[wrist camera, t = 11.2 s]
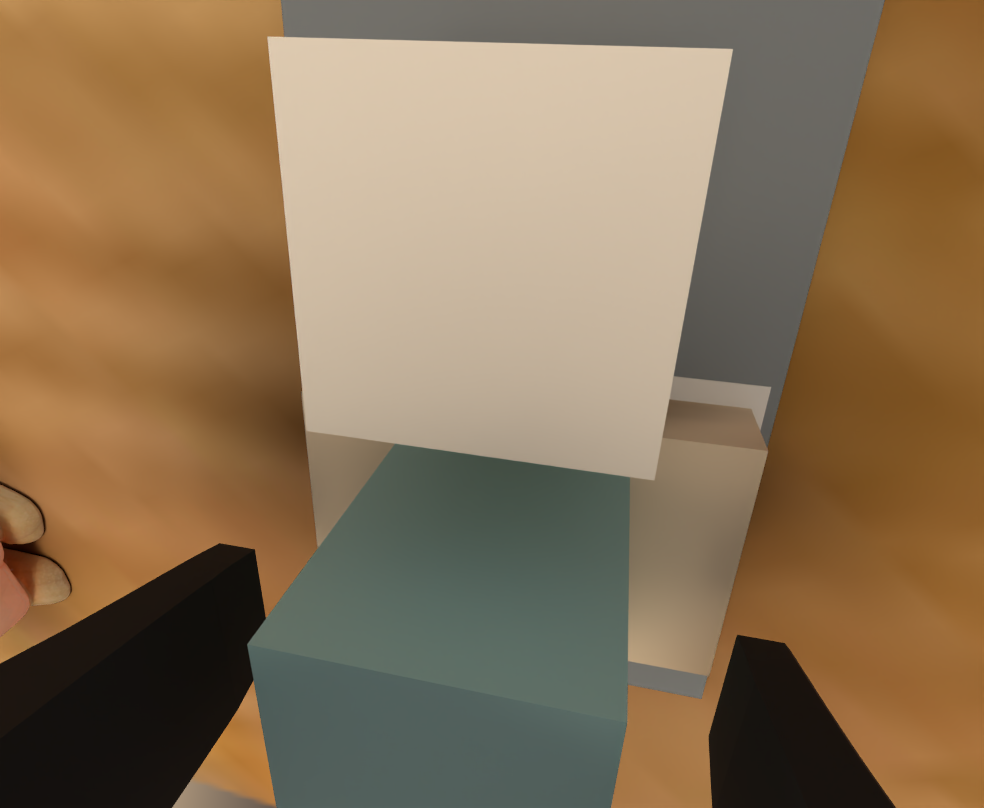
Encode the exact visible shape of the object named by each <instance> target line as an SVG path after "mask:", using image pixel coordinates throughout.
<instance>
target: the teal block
mask: <svg viewBox="0 0 984 808" xmlns="http://www.w3.org/2000/svg"><path fill="white" fill-rule="evenodd" d="M629 524H630V477H626V476H619V475H612V474H605V473H598V472H591V471H584V470H577V469H570V468H563V467H556V466H549V465H542V464H535V463H528V462H521V461H514V460H507V459H500V458H493V457H486V456H479V455H472V454H465V453H458V452H451V451H444V450H437V449H430V448H423V447H416V446H409V445H402V444H394V446H393V447H392V448H391V450H390V451H389V452H388V454H387V455H386V457H385V458H384V459H383V461H382V462H381V463H380V465H379V466H378V467H377V469H376V470H375V471H374V473H373V474H372V476H371V477H370V478H369V480H368V481H367V482H366V484H365V485H364V486H363V488H362V489H361V490H360V492H359V493H358V495H357V496H356V497H355V499H354V500H353V501H352V503H351V504H350V505H349V507H348V508H347V509H346V511H345V512H344V514H343V515H342V516H341V518H340V519H339V520H338V522H337V523H336V524H335V526H334V527H333V529H332V530H331V531H330V533H329V534H328V535H327V537H326V538H325V539H324V541H323V542H322V543H321V545H320V546H319V548H318V549H317V550H316V552H315V553H314V554H313V556H312V557H311V558H310V560H309V561H308V562H307V564H306V565H305V567H304V568H303V569H302V571H301V572H300V573H299V575H298V576H297V577H296V579H295V580H294V581H293V583H292V584H291V586H290V587H289V588H288V590H287V591H286V592H285V594H284V595H283V596H282V598H281V599H280V601H279V602H278V603H277V605H276V606H275V607H274V609H273V610H272V611H271V613H270V614H269V615H268V617H267V618H266V620H265V621H264V622H263V624H262V625H261V626H260V628H259V629H258V630H257V632H256V633H255V634H254V636H253V637H252V639H251V640H250V641H249V643H248V644H247V646H248V652H249V657H250V663H251V668H252V674H253V679H254V685H255V690H256V696H257V701H258V707H259V713H260V718H261V724H262V729H263V735H264V740H265V746H266V751H267V757H268V762H269V768H270V773H271V779H272V785H273V790H274V796H275V801H276V807H277V808H611V804H612V799H613V794H614V788H615V783H616V778H617V773H618V768H619V762H620V757H621V752H622V747H623V742H624V737H625V731H626V726H627V695H628V610H629Z"/></svg>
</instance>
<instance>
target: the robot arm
mask: <svg viewBox="0 0 984 808" xmlns="http://www.w3.org/2000/svg"><path fill="white" fill-rule="evenodd" d="M265 620H266V617H265V611H264V604H263V598H262V592H261V586H260V579H259V573H258V567H257V561H256V554H255V549H249V548H243V547H238V546H232V545H226V544H221V543H219V544H217V545H215V546H214V547H212V548H210V549H208V550H206V551H204V552H202V553H200V554H198V555H196V556H194V557H193V558H191V559H189V560H187V561H185V562H184V563H182V564H180V565H178V566H177V567H175V568H173V569H171V570H169V571H168V572H166V573H164V574H162V575H161V576H159V577H157V578H155V579H154V580H152V581H150V582H148V583H147V584H145V585H143V586H141V587H140V588H138V589H136V590H135V591H133V592H131V593H129V594H127V595H126V596H124V597H122V598H120V599H119V600H117V601H115V602H113V603H112V604H110V605H108V606H106V607H104V608H103V609H101V610H99V611H97V612H96V613H94V614H92V615H90V616H88V617H87V618H85V619H83V620H81V621H80V622H78V623H76V624H74V625H72V626H71V627H69V628H67V629H65V630H63V631H61V632H60V633H58V634H56V635H54V636H52V637H50V638H48V639H46V640H44V641H42V642H41V643H39V644H37V645H35V646H33V647H31V648H29V649H27V650H25V651H23V652H21V653H20V654H18V655H16V656H14V657H12V658H10V659H8V660H6V661H4V662H2V663H1V664H0V808H172V807H173V805H174V804H175V802H176V801H177V800H178V798H179V797H180V795H181V793H182V792H183V791H184V789H185V788H186V786H187V785H188V783H189V782H190V780H191V779H192V777H193V776H194V774H195V773H196V772H197V770H198V769H199V767H200V766H201V764H202V763H203V761H204V760H205V758H206V757H207V755H208V754H209V752H210V751H211V749H212V748H213V746H214V745H215V743H216V742H217V740H218V739H219V737H220V736H221V734H222V733H223V731H224V730H225V728H226V727H227V725H228V724H229V722H230V721H231V719H232V717H233V716H234V714H235V713H236V711H237V710H238V708H239V706H240V704H241V702H242V701H243V699H244V697H245V695H246V693H247V691H248V689H249V687H250V686H251V684H252V682H253V680H254V679H253V674H252V668H251V663H250V657H249V652H248V646H247V644H248V643H249V641H250V640H251V639H252V637H253V636H254V634H255V633H256V632H257V630H258V629H259V628H260V626H261V625H262V624H263V622H264V621H265ZM709 753H710V775H711V793H712V808H896V807H895V806H894V804H893V803H892V802H891V800H890V799H889V797H888V796H887V795H886V793H885V792H884V790H883V789H882V787H881V786H880V785H879V783H878V782H877V780H876V779H875V778H874V776H873V775H872V773H871V772H870V771H869V769H868V768H867V766H866V765H865V763H864V762H863V760H862V759H861V757H860V756H859V754H858V753H857V752H856V750H855V749H854V747H853V746H852V744H851V743H850V741H849V740H848V738H847V737H846V735H845V734H844V732H843V731H842V729H841V728H840V726H839V725H838V723H837V722H836V720H835V719H834V717H833V716H832V714H831V713H830V711H829V709H828V708H827V706H826V705H825V703H824V702H823V700H822V699H821V697H820V696H819V694H818V693H817V691H816V689H815V688H814V686H813V685H812V683H811V682H810V680H809V679H808V677H807V675H806V674H805V672H804V671H803V669H802V668H801V666H800V665H799V663H798V661H797V660H796V658H795V657H794V655H793V654H792V652H791V651H790V649H789V648H788V647H787V646H786V644H785V643H780V642H775V641H769V640H764V639H758V638H752V637H747V636H741V635H737V637H736V641H735V644H734V648H733V652H732V655H731V659H730V662H729V666H728V669H727V673H726V676H725V680H724V684H723V687H722V691H721V694H720V698H719V701H718V705H717V709H716V712H715V716H714V719H713V723H712V726H711V730H710V734H709Z"/></svg>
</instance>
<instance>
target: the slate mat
mask: <svg viewBox="0 0 984 808" xmlns="http://www.w3.org/2000/svg"><path fill="white" fill-rule="evenodd" d="M884 2H885V0H281V5H282V16H283V27H284V37H302V38H340V39H377V40H415V41H453V42H490V43H528V44H566V45H603V46H641V47H679V48H716V49H733V52H732V58H731V63H730V69H729V74H728V80H727V85H726V91H725V96H724V102H723V107H722V113H721V118H720V124H719V129H718V135H717V140H716V146H715V151H714V157H713V162H712V168H711V173H710V178H709V184H708V189H707V195H706V200H705V206H704V211H703V217H702V222H701V228H700V233H699V239H698V244H697V250H696V255H695V261H694V266H693V272H692V277H691V283H690V288H689V294H688V299H687V305H686V310H685V316H684V321H683V327H682V332H681V338H680V343H679V349H678V354H677V360H676V365H675V370H674V376H673V381H672V387H671V392H670V398H669V399H671V400H680V401H688V402H697V403H706V404H714V405H723V406H731V407H740V408H749V409H752V412H753V414H754V417H755V419H756V422H757V424H758V427H759V429H760V432H761V434H762V437H763V439H764V442H765V444H766V447H768V443H769V440H770V436H771V432H772V428H773V424H774V421H775V417H776V413H777V409H778V405H779V402H780V398H781V394H782V390H783V386H784V383H785V379H786V375H787V371H788V367H789V363H790V360H791V356H792V352H793V348H794V344H795V341H796V337H797V333H798V329H799V325H800V322H801V318H802V314H803V310H804V306H805V303H806V299H807V295H808V291H809V287H810V283H811V280H812V276H813V272H814V268H815V264H816V261H817V257H818V253H819V249H820V245H821V242H822V238H823V234H824V230H825V226H826V223H827V219H828V215H829V211H830V207H831V203H832V200H833V196H834V192H835V188H836V184H837V181H838V177H839V173H840V169H841V165H842V162H843V158H844V154H845V150H846V146H847V143H848V139H849V135H850V131H851V127H852V123H853V120H854V116H855V112H856V108H857V104H858V101H859V97H860V93H861V89H862V85H863V82H864V78H865V74H866V70H867V66H868V63H869V59H870V55H871V51H872V47H873V43H874V40H875V36H876V32H877V28H878V24H879V21H880V17H881V13H882V9H883V5H884ZM706 680H707V676H705V675H699V674H694V673H689V672H683V671H678V670H673V669H668V668H662V667H657V666H652V665H646V664H641V663H636V662H630V661H628V685H633V686H638V687H643V688H648V689H653V690H658V691H663V692H669V693H674V694H679V695H684V696H689V697H694V698H699V699H702V695H703V691H704V687H705V683H706Z"/></svg>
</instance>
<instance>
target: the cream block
mask: <svg viewBox="0 0 984 808" xmlns="http://www.w3.org/2000/svg"><path fill="white" fill-rule="evenodd" d="M267 38H268V48H269V58H270V68H271V78H272V88H273V98H274V108H275V118H276V129H277V139H278V149H279V159H280V169H281V179H282V189H283V199H284V209H285V219H286V229H287V239H288V249H289V259H290V269H291V279H292V290H293V300H294V310H295V320H296V330H297V340H298V350H299V360H300V370H301V380H302V390H303V400H304V410H305V420H306V430H307V431H311V432H318V433H325V434H332V435H339V436H346V437H353V438H360V439H367V440H374V441H381V442H388V443H395V444H402V445H409V446H416V447H423V448H430V449H437V450H444V451H451V452H458V453H465V454H472V455H479V456H486V457H493V458H500V459H507V460H514V461H521V462H528V463H535V464H542V465H549V466H556V467H563V468H570V469H577V470H584V471H591V472H598V473H605V474H612V475H619V476H626V477H633V478H640V479H647V480H655V475H656V469H657V464H658V458H659V453H660V447H661V442H662V436H663V431H664V425H665V420H666V414H667V409H668V403H669V398H670V392H671V387H672V381H673V376H674V370H675V365H676V360H677V354H678V349H679V343H680V338H681V332H682V327H683V321H684V316H685V310H686V305H687V299H688V294H689V288H690V283H691V277H692V272H693V266H694V261H695V255H696V250H697V244H698V239H699V233H700V228H701V222H702V217H703V211H704V206H705V200H706V195H707V189H708V184H709V178H710V173H711V168H712V162H713V157H714V151H715V146H716V140H717V135H718V129H719V124H720V118H721V113H722V107H723V102H724V96H725V91H726V85H727V80H728V74H729V69H730V63H731V58H732V52H733V49H716V48H679V47H641V46H603V45H566V44H528V43H490V42H453V41H415V40H377V39H340V38H302V37H267Z"/></svg>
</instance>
